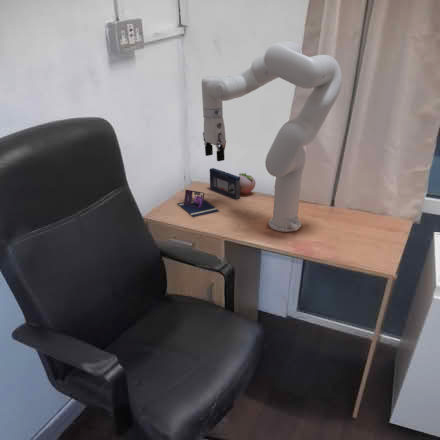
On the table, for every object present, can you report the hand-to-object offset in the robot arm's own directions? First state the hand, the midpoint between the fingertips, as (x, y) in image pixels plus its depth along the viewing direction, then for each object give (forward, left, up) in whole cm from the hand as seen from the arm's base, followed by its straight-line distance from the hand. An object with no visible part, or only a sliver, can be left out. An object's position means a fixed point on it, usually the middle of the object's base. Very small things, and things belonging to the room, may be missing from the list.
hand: (214, 157), depth 170 cm
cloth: (+3, +7, -21) cm, 23 cm away
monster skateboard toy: (+5, +7, -21) cm, 23 cm away
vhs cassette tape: (+12, -11, -21) cm, 27 cm away
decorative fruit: (+7, -19, -21) cm, 29 cm away
